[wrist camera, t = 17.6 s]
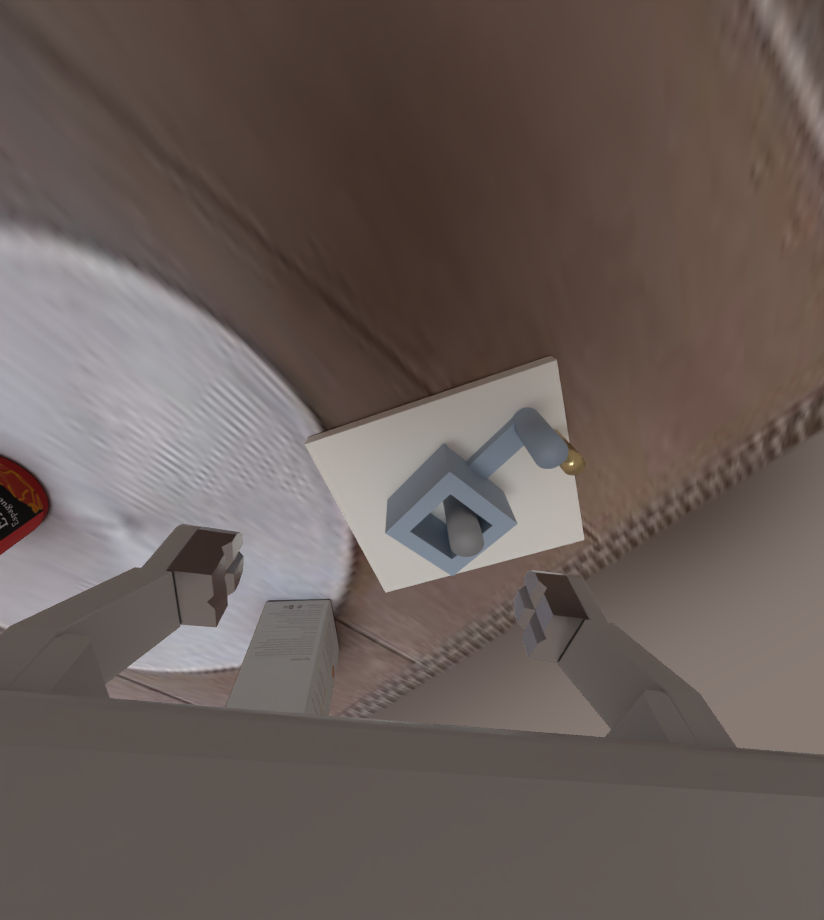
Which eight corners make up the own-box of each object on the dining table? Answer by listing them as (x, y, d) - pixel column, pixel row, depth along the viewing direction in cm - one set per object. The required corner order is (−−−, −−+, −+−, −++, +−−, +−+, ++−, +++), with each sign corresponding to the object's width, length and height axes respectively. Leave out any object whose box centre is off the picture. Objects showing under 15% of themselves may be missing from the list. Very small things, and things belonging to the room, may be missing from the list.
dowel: (540, 432, 26) (561, 459, 23) (559, 426, 26) (584, 452, 22) (543, 449, 27) (564, 477, 23) (562, 443, 27) (586, 471, 23)
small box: (265, 599, 35) (199, 762, 24) (331, 598, 35) (297, 759, 24) (281, 652, 39) (231, 813, 28) (340, 650, 39) (315, 810, 28)
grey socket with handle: (505, 381, 24) (528, 407, 20) (565, 437, 26) (597, 473, 22) (387, 499, 29) (384, 543, 24) (446, 540, 31) (454, 586, 26)
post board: (308, 437, 27) (282, 486, 21) (550, 355, 25) (596, 385, 19) (386, 582, 35) (382, 648, 29) (578, 530, 32) (617, 591, 26)
